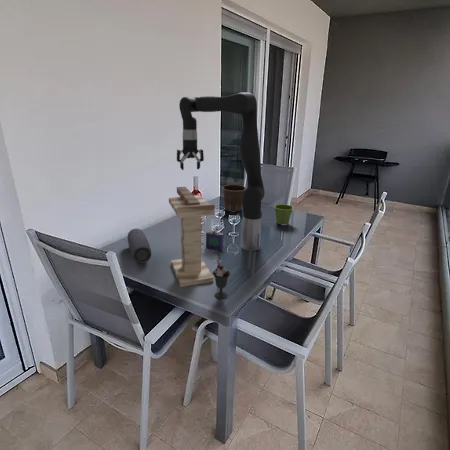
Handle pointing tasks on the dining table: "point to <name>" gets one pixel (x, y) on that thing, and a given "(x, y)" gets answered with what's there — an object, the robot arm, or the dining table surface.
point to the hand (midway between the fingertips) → (190, 169)
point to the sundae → (221, 280)
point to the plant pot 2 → (283, 213)
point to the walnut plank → (187, 196)
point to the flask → (214, 240)
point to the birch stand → (191, 242)
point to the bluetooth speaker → (139, 246)
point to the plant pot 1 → (233, 197)
